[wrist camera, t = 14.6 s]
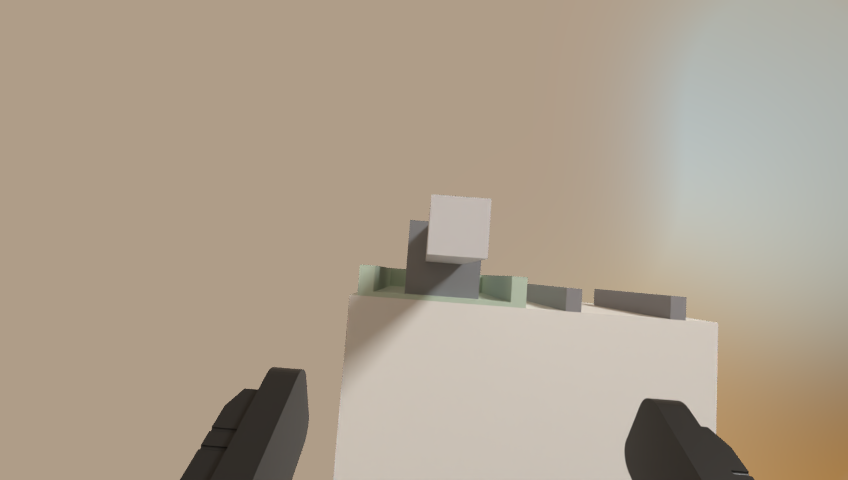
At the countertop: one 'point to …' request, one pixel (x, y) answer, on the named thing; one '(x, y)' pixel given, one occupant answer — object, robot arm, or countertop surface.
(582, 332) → the cabinet
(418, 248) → the light grey rectangular prism
